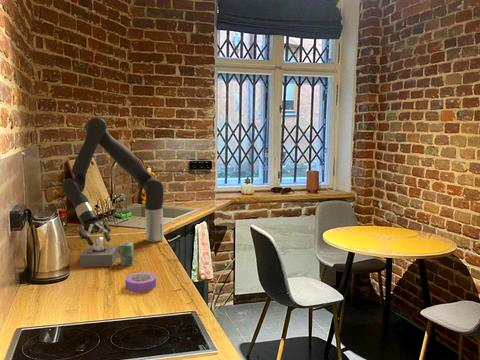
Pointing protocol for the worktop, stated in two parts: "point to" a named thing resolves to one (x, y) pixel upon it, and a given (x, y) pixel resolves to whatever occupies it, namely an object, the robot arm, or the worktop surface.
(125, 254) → the square peg
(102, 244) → the steel peg
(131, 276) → the masking tape
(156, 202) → the robot arm
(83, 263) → the socket block
